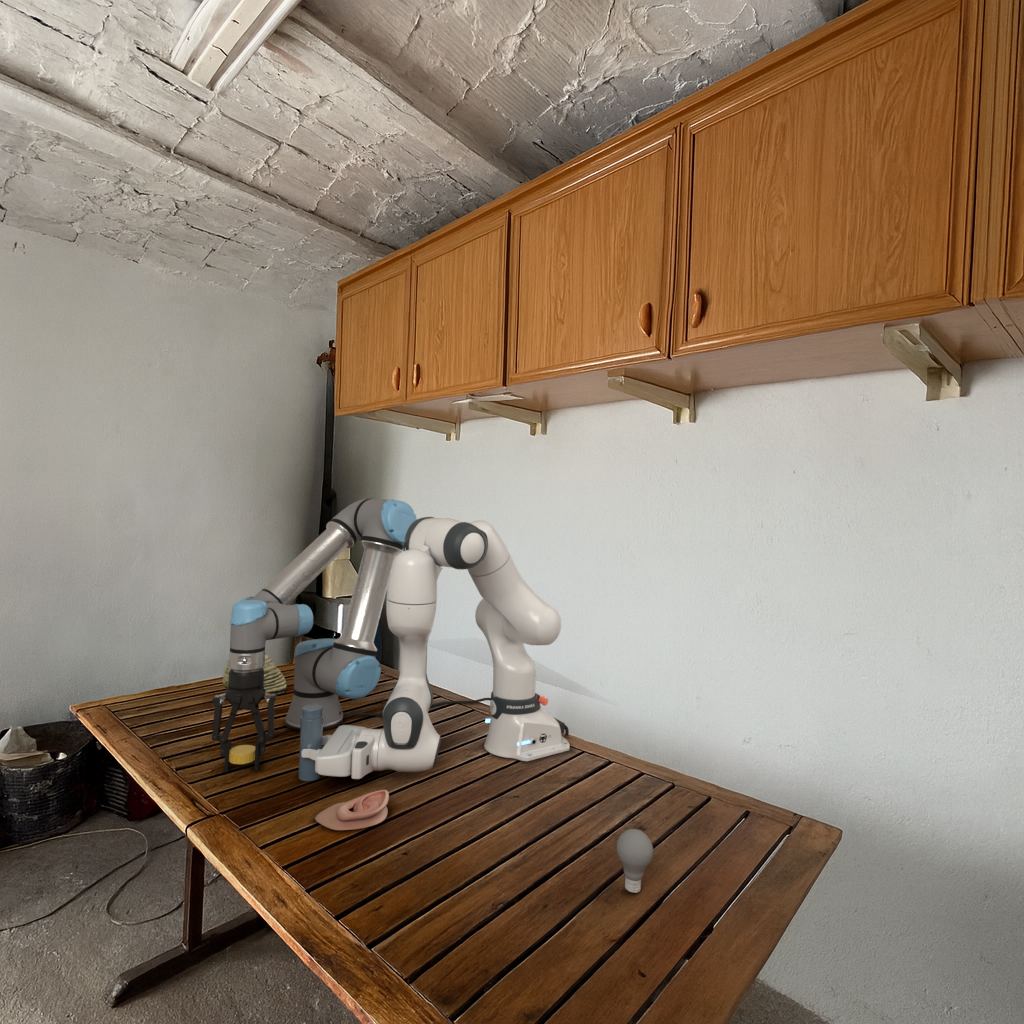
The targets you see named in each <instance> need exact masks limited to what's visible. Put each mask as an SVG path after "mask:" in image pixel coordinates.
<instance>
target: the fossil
mask: <svg viewBox="0 0 1024 1024" xmlns="http://www.w3.org/2000/svg"><path fill="white" fill-rule="evenodd" d="M263 669H264V685H263V686H264V689H265V692H266V693H270V694H273V693H276V694H277V695H281V694H284V693H285V691H286V689H287V687H288V686H287V680H286V678H285V676H284V674H283V673H282V672H281V669H279V668H278V667H277V665H276V663H275V662H274V660H273V659H272V658H271V657H270V656H269V655H268V654H267V653H266V652H265V663H264V667H263ZM230 670H231V669H230V668H229V659H228V660H227V663H226V666H225V668H224V671H223V675H222V676H223V677H222V685H223V687H224V688H225V690H226V691H227V690H228V677H229V671H230Z"/></svg>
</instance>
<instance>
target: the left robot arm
mask: <svg viewBox="0 0 1024 1024" xmlns="http://www.w3.org/2000/svg"><path fill="white" fill-rule="evenodd" d="M415 520H417V514H416V513H415V512H414V509H413V507H412V506H411V505H410V504H408V503H407V502H406V501H403V500H398V499H393V498H391V499H386V498H385V499H383V498H381V499H379V498H362V499H359V500H356V501H354V502H352V503H351V504H349V505H348V506H346V507H345V508H343V509H341V510H340V512H338V513H337V514H336V515H335V516H333V517H332V518H331V519H330V520H329V521H328V522H327V523H326V525H325V528H326V529H325V530H324V531H322V532H321V533H320V534H319V535H318V536H317V538H315V539H314V540H313V541H312V542H311V543H310V544H309V545H308V546H307V547H306V548H304V550H303V551H302V552H300V554H298V555H297V556H296V557H295V558H294V559H293V560H292V561H291V562H290V563H289V564H288V565H286V566H285V567H284V568H283V569H282V570H281V571H280V572H279V573H278V574H277V575H276V576H275V577H273V579H272V580H270V581H269V582H268V583H267V584H266V585H265V586H264V587H263V588H262V589H261V590H260V591H259V592H257V593H256V594H255V595H254V596H246V597H243V598H242V599H240V600H238V601H236V602H234V603H233V605H232V608H231V614H230V620H229V624H230V631H229V632H230V637H229V639H230V640H229V655H228V656H229V658H228V660H229V668H230V669H231V670H230V671H229V677H228V690H227V689H226V691H225V692H224V693H222V694H219V693H217V694H216V695H215V696H213V698H212V704H213V707H214V711H213V721H212V732H211V740H212V741H213V742H219V744H220V747H219V748H220V749H219V755H220V758H221V757H222V758H223V757H224V766H223V767H224V771H223V773H229V771H230V770H231V769H230V768H231V763H230V762H229V751H230V749H231V748H232V738H229V736H230V734H231V730H232V727H233V726H234V723H235V719H236V716H237V714H238V712H240V711H244V710H245V711H249V712H250V715H251V716H252V719H253V723H254V727H255V730H256V733H257V737H258V738H257V739H256V741H255V745H254V746H255V760H254V770H253V771H254V772H259V769H260V765H261V764H260V763H261V756H264V754H265V752H266V742H267V740H269V739H270V740H271V739H273V738H274V735H275V702H276V700H277V697H278V694H276V693H273V694H270V693H266V692H265V689H264V686H263V685H264V669H263V667H264V663H265V653H266V641H271V640H272V641H273V640H278V639H285V638H293V637H299V636H302V635H306V634H308V633H309V632H310V631H311V630H312V629H313V626H314V614H313V611H312V609H311V607H310V606H308V605H307V604H304V603H301V604H299V603H294V604H291V603H292V602H293V601H294V600H295V599H296V598H297V597H298V596H299V595H300V594H301V593H302V592H303V591H304V590H305V589H306V588H307V587H308V586H309V585H310V584H311V583H312V582H313V581H314V580H315V579H316V578H317V577H318V576H319V575H320V574H321V573H322V572H323V571H324V570H325V569H326V568H327V567H328V566H329V565H331V563H333V562H334V560H336V558H337V557H338V556H339V555H341V554H342V552H343V551H344V550H346V549H351V548H353V547H354V546H355V545H356V544H357V543H358V542H360V544H361V546H362V547H363V549H364V550H363V553H362V558H361V561H360V565H359V568H358V572H357V577H356V581H355V584H354V587H353V591H352V594H351V595H352V596H351V598H350V603H349V606H348V610H347V614H346V618H345V622H344V625H343V630H342V633H341V636H339V637H338V638H317V639H308V640H304V641H300V642H299V643H298V644H297V645H296V646H295V650H294V655H293V657H294V672H293V673H294V674H293V695H292V696H293V697H292V699H291V702H290V704H289V708H288V711H287V713H286V715H285V726H286V728H287V729H289V730H291V731H294V732H295V731H296V732H300V724H301V716H302V709H303V707H304V706H306V705H313V704H315V705H321V706H322V709H323V711H322V715H323V732H325V731H329V730H332V729H335V728H338V727H339V726H341V725H342V723H343V722H344V716H355V717H356V716H362V717H363V716H364V717H383V712H343V709H342V706H341V702H340V699H339V697H340V698H343V699H350V700H356V701H357V700H360V699H364V698H366V697H367V696H368V695H369V694H370V693H372V692H373V691H374V689H375V688H376V687H377V685H378V684H379V682H380V679H381V674H382V668H381V666H380V662H379V661H378V659H377V658H376V657H377V652H378V648H377V647H376V645H375V637H376V634H377V630H378V626H379V621H380V618H381V616H382V615H381V614H382V610H383V608H384V607H383V606H384V602H385V598H386V596H387V590H388V582H389V576H390V572H391V567H392V564H393V560H394V558H395V557H396V556H397V555H398V554H399V553H401V552H403V544H404V542H405V536H406V533H407V530H408V528H409V527H410V525H411V524H412V523H413V522H414V521H415ZM263 699H265V703H266V704H267V707H266V709H267V710H266V711H267V713H266V714H267V718H266V719H267V731H266V729H265V725H264V722H263V718H262V715H261V711H260V705H259V704H260V703H261V701H262V700H263ZM226 700H227V702H228V703H229V704H230V705H231V708H230V711H229V716H228V718H227V721H226V724H225V726H224V729H223V732H222V733H221V725H222V717H223V716H222V715H223V707H224V706H223V705H224V703H225V702H226ZM485 701H490V702H491V697H483V698H479V699H473V700H447V701H440V702H436V703H432V706H431V708H433V707H438V706H442V705H450V704H451V705H452V704H475V703H480V702H485ZM228 738H229V739H228Z"/></svg>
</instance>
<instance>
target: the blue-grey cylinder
mask: <svg viewBox="0 0 1024 1024" xmlns="http://www.w3.org/2000/svg"><path fill="white" fill-rule="evenodd" d="M322 711H323V709H322V706H321V705H315V704H313V705H306V706H304V707H303V709H302V716H301V724H300V731H299V750H298V752H299V753H298V757H299V758H298V779H299V780H300V781H302V782H313V781H317V780H319V779H320V778H321V777H322V775H319V774H318V773H316V772H315V760H312V759H310V758H303V757H302V756H301V755H302V750H303V749H304V748H305V747H312V749H314V750H318V749H322V748H323V745H322V737H323V736H324V734H323V732H324V731H323V715H322Z"/></svg>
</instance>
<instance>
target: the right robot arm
mask: <svg viewBox="0 0 1024 1024" xmlns="http://www.w3.org/2000/svg"><path fill="white" fill-rule="evenodd" d="M443 567H444V568H445V567H446V568H450V569H451V568H452V569H455V570H459V571H461V570H467V572H468V574H469V576H470V578H471V580H472V582H473V584H474V586H475V587H476V590H477V591H478V593H479V595H480V596H481V598H482V599H480V601H479V602H478V604H477V606H476V609H475V612H474V613H475V615H474V618H475V623H476V626H477V627H478V628H479V629H480V631H481V632H482V634H483V635H484V637H485V639H486V641H487V644H488V647H489V651H490V654H491V659H492V679H493V680H492V691H491V692H490V698H491V701H490V702H489V711H490V712H489V714H490V718H485V721H484V722H485V724H488V731H487V734H486V738H485V742H484V744H483V747H484V750H485V751H486V752H488V753H489V754H492V755H494V756H496V757H501V758H506V759H514V760H518V761H521V762H530V761H535V760H538V759H543V758H546V757H549V756H553V755H554V756H555V755H556V754H561V753H565V752H568V751H571V746H570V745H571V744H570V742H569V741H568V740H567V738H566V737H569V735H570V731H569V730H570V729H569V727H568V725H566V723H565V722H563V721H561V720H559V719H558V718H556V717H553V715H551V714H550V713H549V712H548V711H546V710H545V709H544V708H542V707H541V705H542V706H544V707H545V706H547V705H548V704H549V699H548V697H546V696H544V695H540V694H539V693H536V682H537V681H536V680H537V666H536V662H535V661H534V659H533V658H532V657H531V656H530V655H529V653H528V652H527V649H526V647H525V645H529V646H549V645H553V643H554V642H555V641H557V639H558V638H559V636H560V633H561V631H562V618H561V614H560V613H559V611H558V610H557V609H556V608H555V607H553V606H552V605H550V604H548V603H547V602H546V601H544V599H542V598H541V596H539V595H538V594H537V593H536V592H535V590H533V589H532V587H531V586H530V585H529V584H528V583H527V582H526V581H525V579H524V578H523V576H522V575H521V573H520V572H519V570H518V568H517V566H516V564H515V562H514V560H513V557H512V556H511V554H510V551H509V549H508V547H507V545H506V544H505V542H504V541H503V539H502V537H501V536H500V534H499V533H498V531H497V530H496V529H495V527H494V526H493V525H492V524H491V523H490V522H488V521H486V520H474V521H471V522H468V521H467V522H466V521H460V520H457V519H454V518H448V517H434V516H425V517H419V518H418V519H417V520H415V521H414V522H413V523H412V524H411V525H410V527H409V528H408V530H407V533H406V536H405V542H404V544H403V550H402V552H401V553H399V554H398V555H396V557H395V558H394V560H393V564H392V567H391V572H390V576H389V582H388V587H387V591H386V621H387V626H388V629H389V631H390V632H391V633H392V634H393V635H394V636H395V637H397V638H398V640H399V646H400V651H399V654H400V656H399V674H398V675H399V676H398V679H397V681H396V683H395V684H394V686H393V688H392V691H391V694H390V695H389V698H388V699H387V702H386V704H385V705H384V708H383V711H382V713H383V716H382V725H383V726H382V727H383V728H368V727H365V726H362V725H361V726H359V725H353V724H351V725H350V724H341V725H339V726H337V727H336V729H335V731H333V734H326V735H323V737H322V749H318V750H314V749H312V747H305V748H304V749H303V750H302V755H301V756H302V757H303V758H310V759H312V760H315V772H316V773H318V774H319V775H321V776H326V777H337V778H338V777H339V778H346V777H350V776H351V779H352V780H360V779H363V777H365V776H366V775H368V774H370V773H373V772H383V771H387V770H390V771H391V770H392V771H395V772H398V773H419V772H427V771H430V770H432V769H433V768H434V767H435V766H436V764H437V761H438V757H439V753H440V749H441V744H442V737H441V735H440V734H439V733H438V732H437V730H436V729H435V727H434V726H433V722H432V721H431V717H430V715H429V711H430V710H431V708H432V707H431V706H432V704H434V703H433V701H434V693H433V689H432V686H431V684H430V682H429V678H428V675H427V674H428V673H427V669H428V668H427V667H428V643H429V638H430V635H431V633H432V630H433V627H434V623H435V618H436V612H437V601H438V579H439V576H440V574H441V573H442V570H443ZM524 644H525V645H524ZM563 734H564V736H565V737H564V736H563Z"/></svg>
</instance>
